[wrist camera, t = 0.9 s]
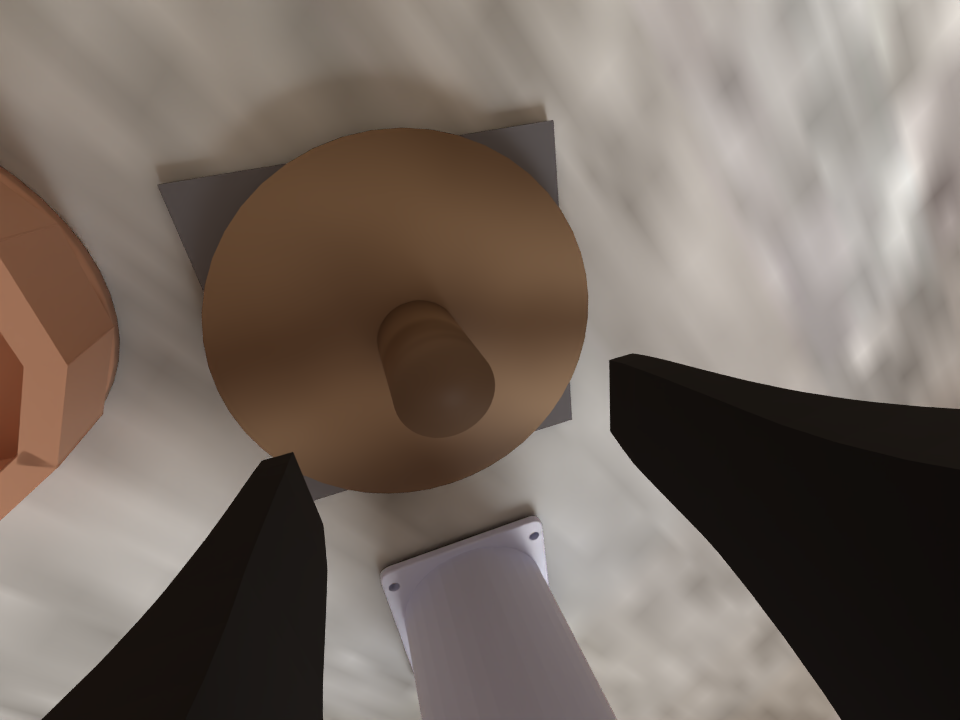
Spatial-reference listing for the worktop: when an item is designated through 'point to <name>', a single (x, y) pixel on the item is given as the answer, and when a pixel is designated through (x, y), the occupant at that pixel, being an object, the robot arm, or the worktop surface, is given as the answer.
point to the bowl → (47, 341)
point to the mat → (218, 198)
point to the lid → (395, 310)
